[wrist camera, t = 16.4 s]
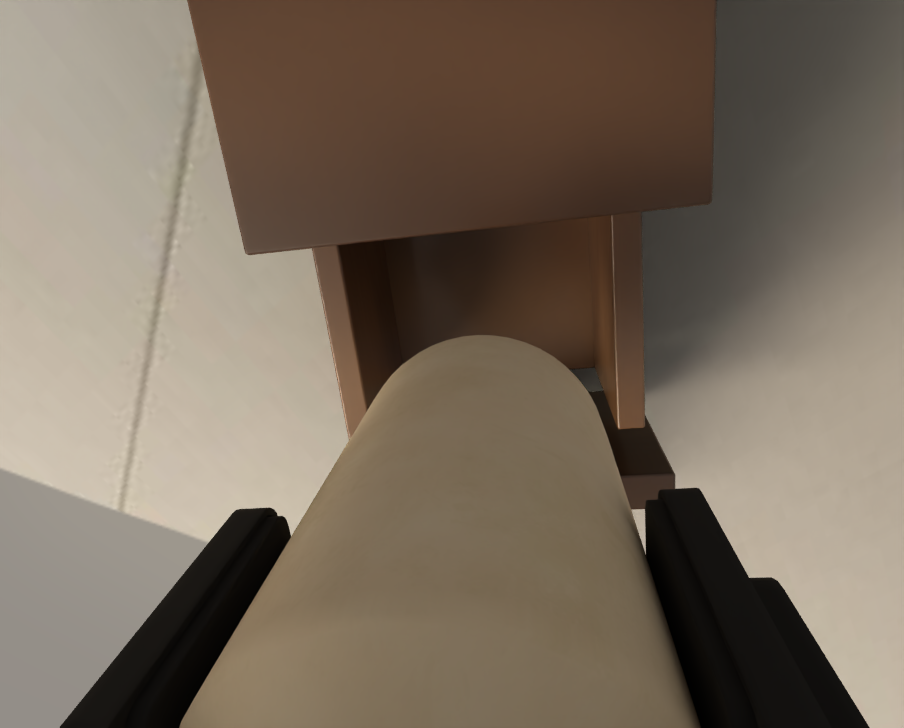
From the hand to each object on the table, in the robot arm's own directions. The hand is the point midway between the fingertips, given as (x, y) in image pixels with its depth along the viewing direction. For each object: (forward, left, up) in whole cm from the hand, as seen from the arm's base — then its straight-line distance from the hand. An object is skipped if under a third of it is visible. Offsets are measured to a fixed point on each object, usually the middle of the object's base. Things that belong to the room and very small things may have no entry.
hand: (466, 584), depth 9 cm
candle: (0, 0, -5) cm, 5 cm away
